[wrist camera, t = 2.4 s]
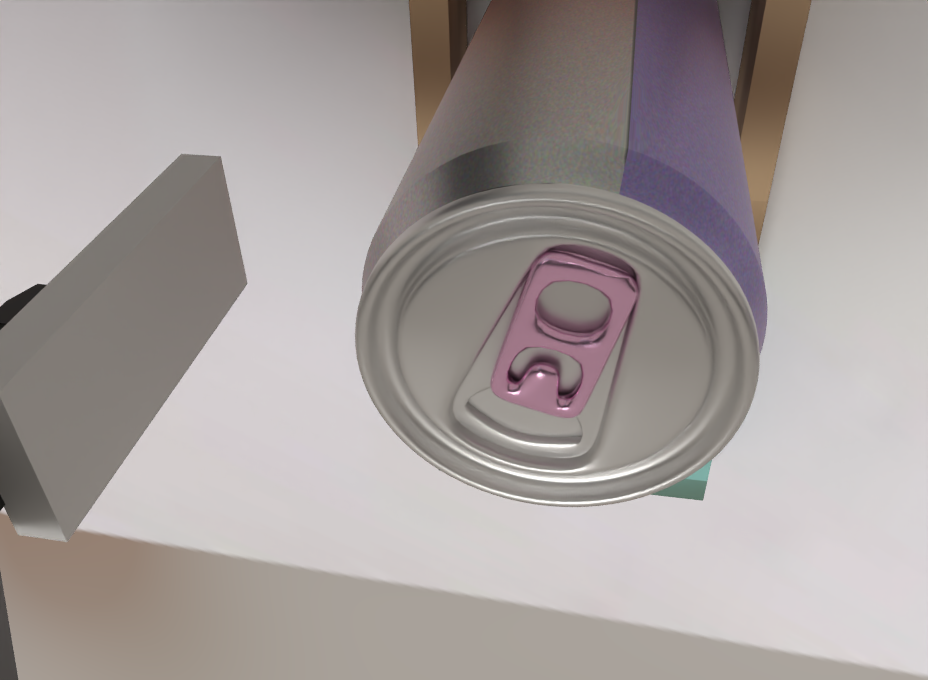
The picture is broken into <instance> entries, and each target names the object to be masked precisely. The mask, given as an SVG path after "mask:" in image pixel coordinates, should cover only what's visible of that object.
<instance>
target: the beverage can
mask: <svg viewBox="0 0 928 680" xmlns="http://www.w3.org/2000/svg"><path fill="white" fill-rule="evenodd" d="M766 325H767V297H766V290H765V284H764V278H763V272H762V266H761V260H760V254H759V248H758V242H757V236H756V230H755V224H754V218H753V212H752V206H751V200H750V194H749V188H748V182H747V176H746V171H745V165H744V159H743V153H742V147H741V141H740V135H739V129H738V123H737V117H736V111H735V105H734V99H733V93H732V87H731V81H730V75H729V69H728V63H727V57H726V51H725V45H724V40H723V34H722V28H721V22H720V16H719V10H718V4H717V0H491V2H490V4H489V6H488V8H487V10H486V12H485V14H484V16H483V18H482V20H481V22H480V24H479V26H478V28H477V30H476V32H475V34H474V36H473V38H472V40H471V42H470V44H469V46H468V48H467V50H466V52H465V54H464V56H463V58H462V60H461V62H460V64H459V66H458V68H457V70H456V72H455V74H454V76H453V78H452V80H451V82H450V84H449V86H448V88H447V90H446V93H445V95H444V97H443V99H442V101H441V103H440V105H439V107H438V109H437V111H436V113H435V115H434V117H433V119H432V121H431V123H430V125H429V127H428V129H427V131H426V133H425V135H424V137H423V139H422V141H421V143H420V145H419V147H418V149H417V151H416V153H415V155H414V157H413V159H412V161H411V163H410V165H409V167H408V169H407V171H406V173H405V175H404V177H403V179H402V181H401V183H400V185H399V187H398V189H397V191H396V193H395V195H394V197H393V199H392V201H391V203H390V205H389V207H388V209H387V211H386V213H385V215H384V217H383V219H382V221H381V223H380V225H379V227H378V229H377V231H376V233H375V235H374V237H373V239H372V242H371V245H370V247H369V250H368V253H367V257H366V261H365V265H364V271H363V278H362V295H361V299H360V303H359V306H358V311H357V317H356V327H355V347H356V354H357V360H358V365H359V369H360V372H361V375H362V379H363V382H364V384H365V386H366V389H367V391H368V393H369V395H370V397H371V399H372V401H373V403H374V405H375V407H376V408H377V410H378V411H379V413H380V414H381V416H382V417H383V419H384V420H385V421H386V423H387V424H388V425H389V427H390V428H391V429H392V430H393V431H394V432H395V434H396V435H397V436H398V437H399V438H400V439H401V440H402V441H403V442H404V443H405V444H406V445H407V446H409V447H410V448H411V449H412V450H413V451H414V452H415V453H417V454H418V455H419V456H420V457H422V458H423V459H424V460H426V461H427V462H429V463H430V464H431V465H433V466H434V467H436V468H437V469H439V470H441V471H442V472H444V473H446V474H447V475H449V476H451V477H453V478H455V479H457V480H459V481H461V482H463V483H465V484H467V485H470V486H472V487H474V488H477V489H479V490H482V491H485V492H488V493H491V494H493V495H497V496H500V497H504V498H507V499H511V500H516V501H520V502H525V503H531V504H537V505H546V506H559V507H588V506H600V505H608V504H614V503H620V502H625V501H629V500H633V499H637V498H641V497H644V496H647V495H650V494H653V493H656V492H658V491H661V490H663V489H666V488H668V487H670V486H672V485H674V484H676V483H678V482H680V481H682V480H684V479H685V478H687V477H689V476H690V475H692V474H693V473H695V472H696V471H698V470H699V469H701V468H702V467H703V466H705V465H706V464H707V463H708V462H709V461H711V460H712V459H713V458H714V457H715V456H716V455H717V454H718V453H719V452H720V451H721V450H722V449H723V448H724V447H725V446H726V445H727V444H728V442H729V441H730V440H731V439H732V437H733V436H734V435H735V433H736V432H737V431H738V429H739V427H740V426H741V424H742V422H743V421H744V419H745V417H746V415H747V413H748V411H749V409H750V406H751V403H752V400H753V398H754V394H755V390H756V386H757V382H758V375H759V361H760V353H761V350H762V346H763V342H764V338H765V333H766Z"/></svg>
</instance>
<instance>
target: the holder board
mask: <svg viewBox="0 0 928 680" xmlns="http://www.w3.org/2000/svg"><path fill="white" fill-rule="evenodd" d="M810 5H811V0H752V3H751V8H750V14H749V20H748V25H747V31H746V37H745V42H744V48H743V54H742V60H741V65H740V71H739V77H738V82H737V88H736V94H735V99H734V105H735V111H736V117H737V123H738V129H739V135H740V141H741V147H742V153H743V159H744V165H745V171H746V176H747V182H748V188H749V194H750V200H751V206H752V212H753V218H754V224H755V230H756V236H757V242H758V244H759V240H760V235H761V231H762V226H763V221H764V217H765V212H766V208H767V203H768V198H769V194H770V189H771V185H772V180H773V175H774V171H775V166H776V162H777V157H778V152H779V148H780V143H781V139H782V134H783V129H784V125H785V120H786V115H787V111H788V106H789V102H790V97H791V92H792V88H793V83H794V79H795V74H796V69H797V65H798V60H799V56H800V51H801V46H802V42H803V37H804V33H805V28H806V23H807V19H808V14H809V10H810ZM409 10H410V26H411V42H412V57H413V73H414V89H415V105H416V120H417V136H418V147H419V145H420V143H421V141H422V139H423V137H424V135H425V133H426V131H427V129H428V127H429V125H430V123H431V121H432V119H433V117H434V115H435V113H436V111H437V109H438V107H439V105H440V103H441V101H442V99H443V97H444V95H445V93H446V90H447V88H448V86H449V84H450V82H451V80H452V78H453V76H454V74H455V72H456V70H457V68H458V66H459V64H460V62H461V60H462V58H463V56H464V54H465V52H466V50H467V15H466V0H409ZM711 461H712V460H711ZM711 461H709V462H708V463H707V464H706V465H705V466H703V467H702V468H701V469H699V470H698V471H696V472H695V473H693V474H692V475H690V476H689V477H687V478H685V479H684V480H682V481H680V482H678V483H676V484H674V485H672V486H670V487H668V488H666V489H663V490H661V491H658V492H656V493H653V494H651V495H659V496H668V497H677V498H685V499H694V500H703V498H704V493H705V489H706V484H707V479H708V475H709V470H710V466H711Z"/></svg>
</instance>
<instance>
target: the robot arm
mask: <svg viewBox="0 0 928 680" xmlns="http://www.w3.org/2000/svg"><path fill="white" fill-rule="evenodd" d="M246 285H247V279H246V274H245V269H244V265H243V260H242V255H241V250H240V246H239V241H238V236H237V231H236V227H235V222H234V217H233V212H232V208H231V203H230V198H229V193H228V189H227V184H226V179H225V174H224V170H223V165H222V160H221V157H220V156H205V155H189V154H181V155H180V156H179V157H178V158H177V159H176V160H175V161H174V162H173V163H172V164H171V165H170V166H169V167H168V168H167V169H166V170H165V171H164V172H163V173H161V174H160V175H159V176H158V177H157V178H156V179H155V180H154V181H153V182H152V183H151V184H150V185H149V186H148V187H147V188H146V189H145V190H144V191H143V192H142V193H141V194H140V195H139V196H138V197H137V198H136V199H135V200H134V201H133V202H132V203H131V204H130V205H129V206H128V207H126V208H125V209H124V210H123V211H122V212H121V213H120V214H119V215H118V216H117V217H116V218H115V219H114V220H113V221H112V222H111V223H110V224H109V225H108V226H107V227H106V228H105V229H104V230H103V231H102V232H101V233H100V234H99V235H98V236H97V237H96V238H95V239H94V240H93V241H92V242H90V243H89V244H88V245H87V246H86V247H85V248H84V249H83V250H82V251H81V252H80V253H79V254H78V255H77V256H76V257H75V258H74V259H73V260H72V261H71V262H70V263H69V264H68V265H67V266H66V267H65V268H64V269H63V270H62V271H61V272H60V273H59V274H58V275H57V276H56V277H54V278H53V279H52V280H51V281H50V282H49V283H48V284H47V285H43V284H37V285H35V286H33V287H31V288H29V289H28V290H26V291H24V292H22V293H20V294H18V295H17V296H15V297H13V298H11V299H9V300H8V301H6V302H5V303H4V304H3V305H2V306H1V307H0V510H1V509H2V508H3V507H4V508H5V510H6V512H7V514H8V516H9V518H10V520H11V522H12V523H13V525H14V527H15V529H16V531H17V533H18V535H23V536H30V537H37V538H44V539H51V540H58V541H64V542H67V541H68V540H69V539H70V537H71V536H72V535H73V533H74V532H75V530H76V529H77V527H78V526H79V524H80V523H81V522H82V520H83V519H84V517H85V516H86V514H87V513H88V512H89V510H90V509H91V507H92V506H93V504H94V503H95V502H96V500H97V499H98V497H99V496H100V494H101V493H102V491H103V490H104V489H105V487H106V486H107V484H108V483H109V481H110V480H111V479H112V477H113V476H114V474H115V473H116V471H117V470H118V469H119V467H120V466H121V464H122V463H123V461H124V460H125V459H126V457H127V456H128V454H129V453H130V451H131V450H132V448H133V447H134V446H135V444H136V443H137V441H138V440H139V438H140V437H141V436H142V434H143V433H144V431H145V430H146V428H147V427H148V426H149V424H150V423H151V421H152V420H153V418H154V417H155V415H156V414H157V413H158V411H159V410H160V408H161V407H162V405H163V404H164V403H165V401H166V400H167V398H168V397H169V395H170V394H171V393H172V391H173V390H174V388H175V387H176V385H177V384H178V382H179V381H180V380H181V378H182V377H183V375H184V374H185V372H186V371H187V370H188V368H189V367H190V365H191V364H192V362H193V361H194V360H195V358H196V357H197V355H198V354H199V352H200V351H201V350H202V348H203V347H204V345H205V344H206V342H207V341H208V339H209V338H210V337H211V335H212V334H213V332H214V331H215V329H216V328H217V327H218V325H219V324H220V322H221V321H222V319H223V318H224V317H225V315H226V314H227V312H228V311H229V309H230V308H231V306H232V305H233V304H234V302H235V301H236V299H237V298H238V296H239V295H240V294H241V292H242V291H243V289H244V288H245V286H246ZM0 680H18V675H17V669H16V663H15V657H14V651H13V646H12V640H11V633H10V627H9V621H8V615H7V609H6V603H5V597H4V591H3V585H2V579H1V573H0Z"/></svg>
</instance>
